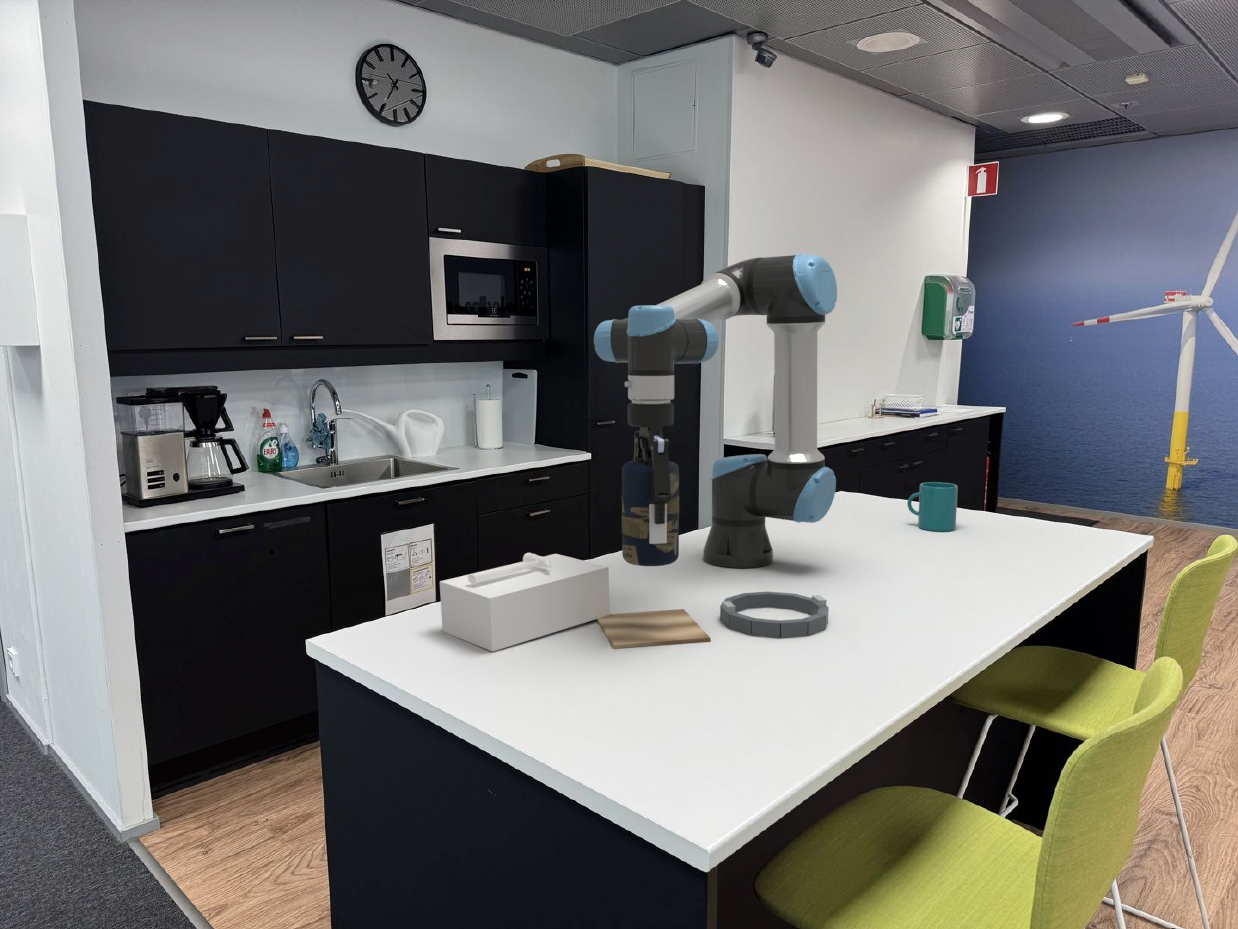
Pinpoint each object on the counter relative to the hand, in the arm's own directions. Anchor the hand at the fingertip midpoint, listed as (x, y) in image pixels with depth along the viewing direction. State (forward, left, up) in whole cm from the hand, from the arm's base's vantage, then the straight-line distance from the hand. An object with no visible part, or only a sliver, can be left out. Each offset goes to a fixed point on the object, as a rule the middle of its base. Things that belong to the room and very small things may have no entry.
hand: (650, 536), depth 151 cm
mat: (0, 0, -16) cm, 16 cm away
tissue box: (-7, -20, -16) cm, 27 cm away
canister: (0, 0, -5) cm, 5 cm away
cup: (-63, +89, -16) cm, 110 cm away
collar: (0, +22, -16) cm, 27 cm away
